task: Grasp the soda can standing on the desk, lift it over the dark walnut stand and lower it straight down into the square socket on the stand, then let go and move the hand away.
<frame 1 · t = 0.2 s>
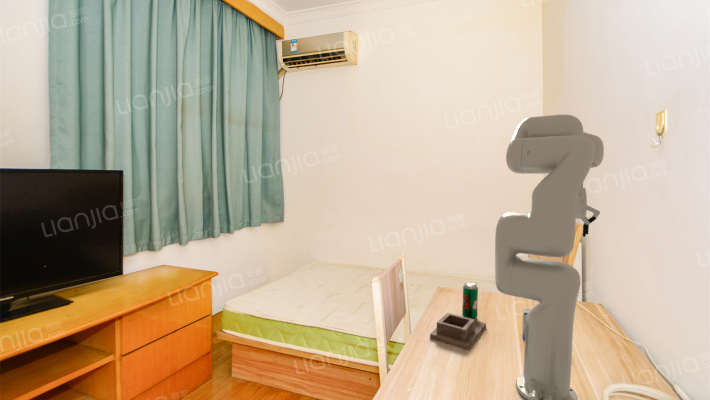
hand: (566, 234, 115), 31 cm above the table, tool pointing down, fingers open, 9 cm apart
can stand: (458, 332, 111), on the table
soda can: (469, 317, 123), on the table
medicine box: (536, 339, 107), on the table
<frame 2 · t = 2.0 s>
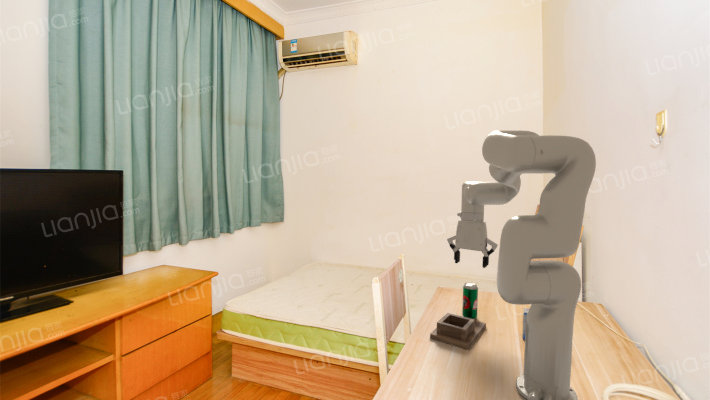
hand: (470, 264, 122), 19 cm above the table, tool pointing down, fingers open, 9 cm apart
nothing on the table moved.
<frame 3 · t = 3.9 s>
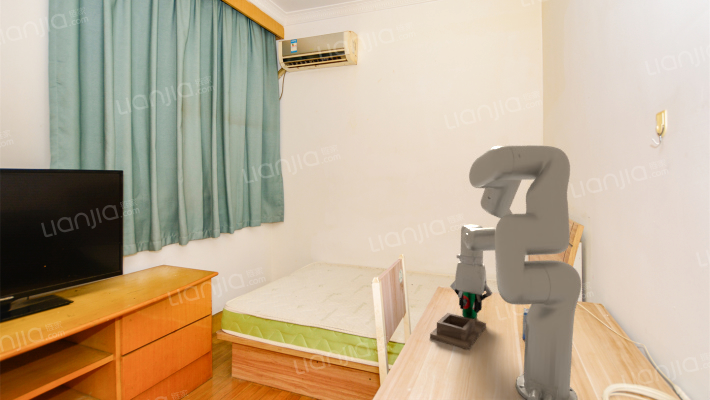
hand: (470, 309, 123), 3 cm above the table, tool pointing down, fingers closed on soda can, 4 cm apart
soda can: (469, 317, 123), on the table, touching gripper
everything else where it was.
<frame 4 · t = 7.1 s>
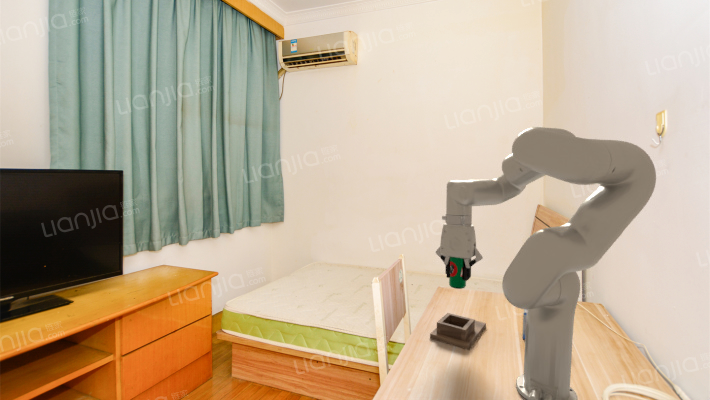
hand: (457, 277, 107), 19 cm above the table, tool pointing down, fingers closed on soda can, 4 cm apart
soda can: (457, 287, 107), point 16 cm above the table, touching gripper
everything else where it was.
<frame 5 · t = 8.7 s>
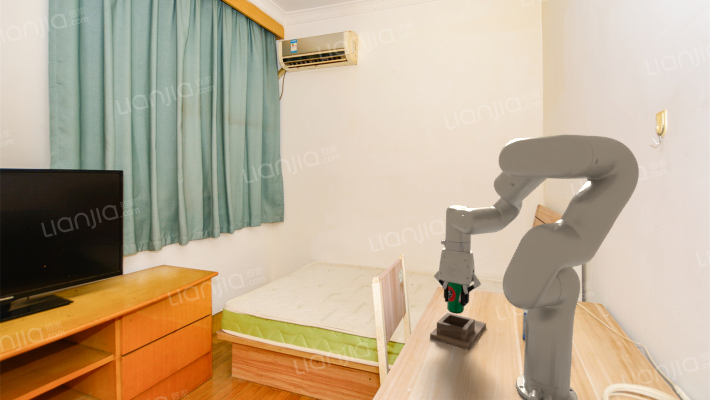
hand: (456, 302, 108), 11 cm above the table, tool pointing down, fingers closed on soda can, 4 cm apart
soda can: (455, 311, 108), point 8 cm above the table, touching gripper
everything else where it was.
when the fingers open (6 cm above the table, at t = 10.1 s): soda can drops 1 cm, resting on can stand.
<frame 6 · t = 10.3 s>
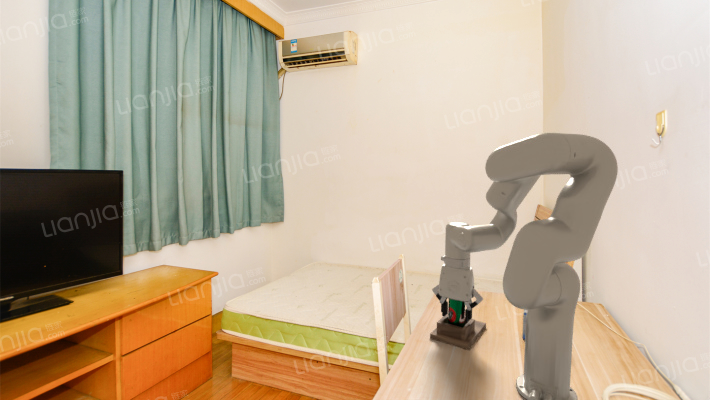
hand: (456, 317, 108), 6 cm above the table, tool pointing down, fingers open, 6 cm apart
soda can: (456, 332, 109), point 1 cm above the table, touching can stand
everything else where it was.
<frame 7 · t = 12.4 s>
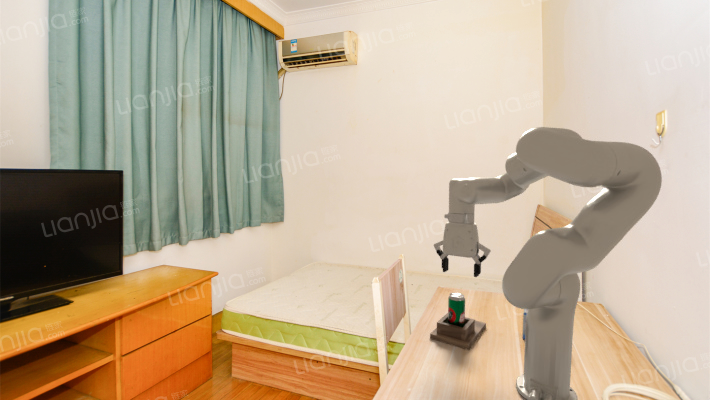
hand: (460, 273, 106), 21 cm above the table, tool pointing down, fingers open, 9 cm apart
nothing on the table moved.
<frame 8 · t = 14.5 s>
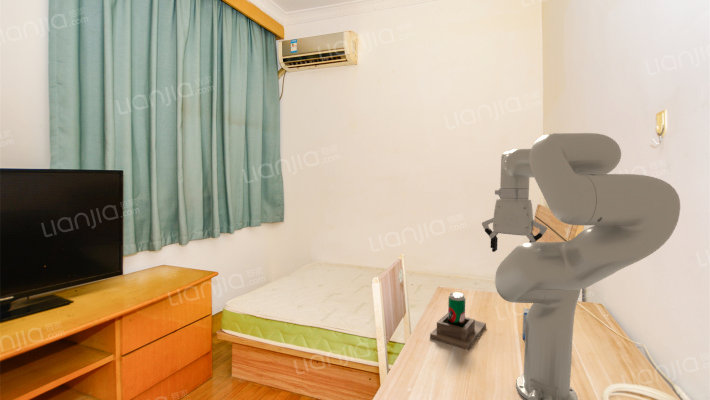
hand: (511, 253, 100), 28 cm above the table, tool pointing down, fingers open, 9 cm apart
nothing on the table moved.
at the end: soda can 0.1 cm from the target spot on the can stand, point 1.3 cm above the can stand's base; soda can tilted 0°; the gripper is holding nothing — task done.
